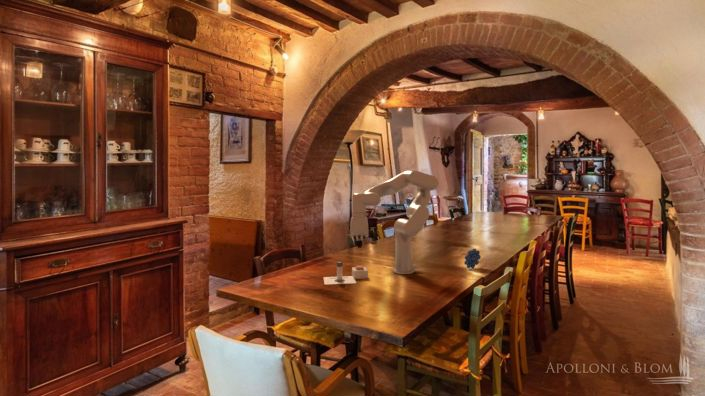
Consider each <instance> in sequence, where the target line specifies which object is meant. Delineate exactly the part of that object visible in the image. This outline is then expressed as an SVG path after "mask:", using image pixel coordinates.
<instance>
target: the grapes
mask: <svg viewBox="0 0 705 396" xmlns="http://www.w3.org/2000/svg"><path fill="white" fill-rule="evenodd" d="M480 252H481V251H480V250H477V249H476V248H473V249H471V250H468V252H467V254H466V255H465V256H464V265H465V266H466V268H467V269H470V268H471V269H474V268H475V267H476V266H477V265H479V263H480V259H481V258H482V257H481V255H480Z"/></svg>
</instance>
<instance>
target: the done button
mask: <svg viewBox="0 0 705 396" xmlns="http://www.w3.org/2000/svg"><path fill="white" fill-rule="evenodd" d="M355 267H356V270H363V267H364V266H363V265H356V266H355Z"/></svg>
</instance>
